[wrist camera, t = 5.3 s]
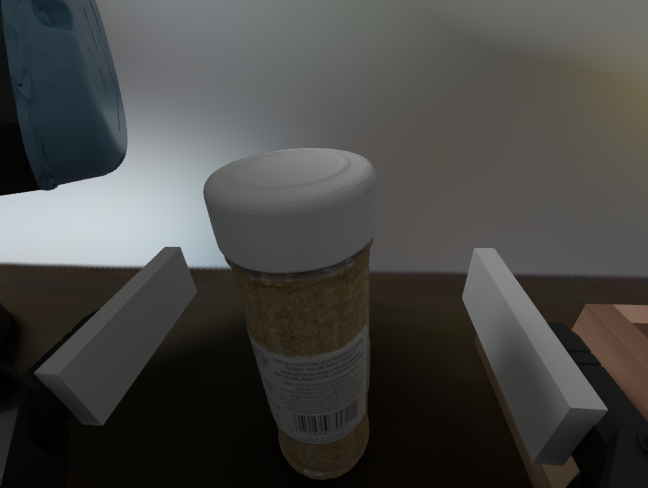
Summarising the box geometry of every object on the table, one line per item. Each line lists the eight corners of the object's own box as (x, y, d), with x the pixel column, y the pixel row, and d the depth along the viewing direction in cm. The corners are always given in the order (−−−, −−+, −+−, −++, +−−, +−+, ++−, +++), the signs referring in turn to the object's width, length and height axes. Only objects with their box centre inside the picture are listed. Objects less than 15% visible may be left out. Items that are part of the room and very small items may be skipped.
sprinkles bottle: (367, 388, 16) (372, 139, 9) (371, 489, 13) (387, 196, 6) (286, 385, 17) (234, 146, 10) (267, 481, 13) (158, 202, 6)
